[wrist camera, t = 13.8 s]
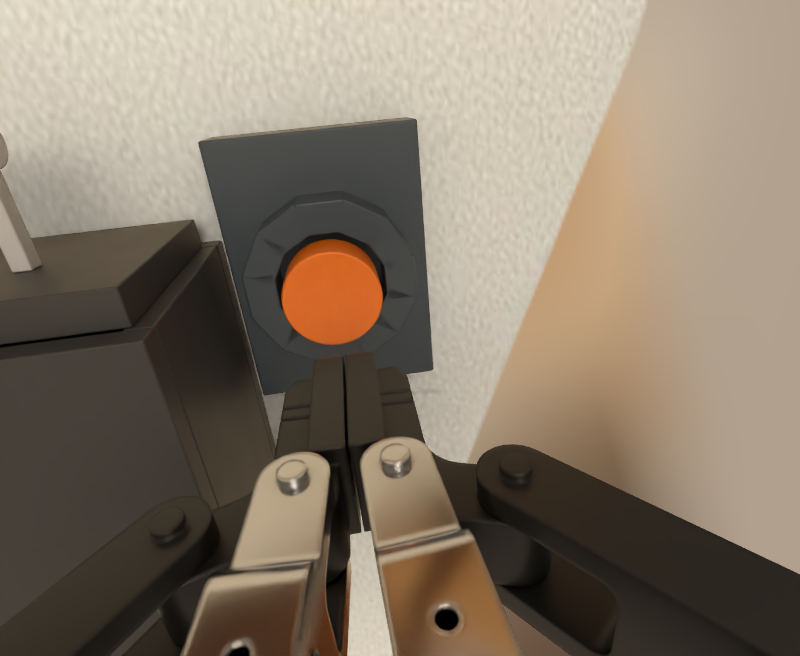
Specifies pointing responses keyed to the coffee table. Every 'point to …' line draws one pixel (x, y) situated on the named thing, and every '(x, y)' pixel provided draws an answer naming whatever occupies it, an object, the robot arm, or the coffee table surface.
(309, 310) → the button
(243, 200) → the control block
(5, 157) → the dark box with handle
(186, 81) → the coffee table surface
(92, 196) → the coffee table surface
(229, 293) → the drawer cabinet
